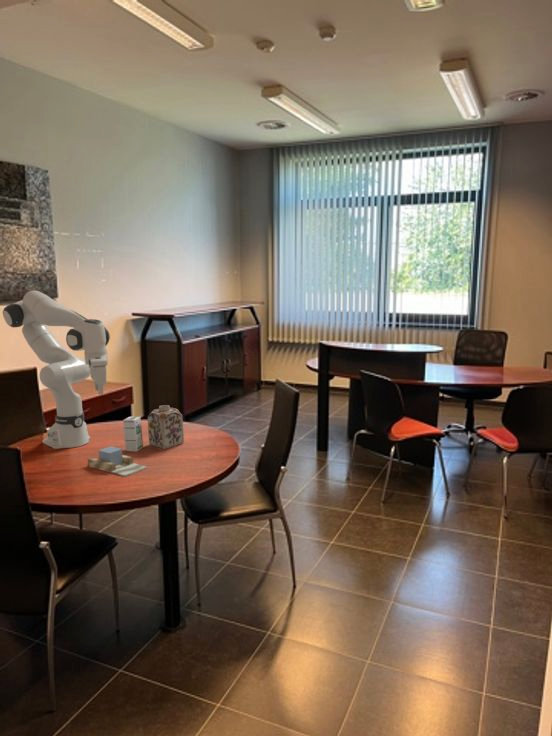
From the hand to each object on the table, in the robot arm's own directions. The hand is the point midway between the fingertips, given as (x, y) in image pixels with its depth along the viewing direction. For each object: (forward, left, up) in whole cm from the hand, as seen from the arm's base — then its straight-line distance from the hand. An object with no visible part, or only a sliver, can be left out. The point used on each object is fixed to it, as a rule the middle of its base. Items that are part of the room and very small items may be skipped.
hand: (99, 392), depth 221 cm
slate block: (+9, -3, -29) cm, 31 cm away
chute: (+12, -3, -29) cm, 32 cm away
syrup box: (+1, +16, -29) cm, 33 cm away
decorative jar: (+8, +29, -29) cm, 42 cm away
